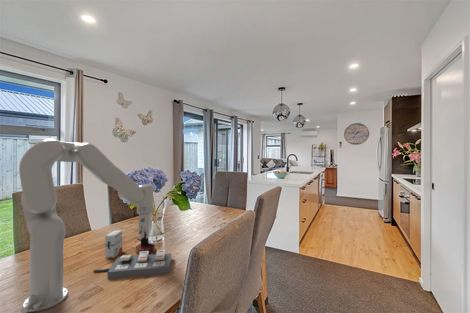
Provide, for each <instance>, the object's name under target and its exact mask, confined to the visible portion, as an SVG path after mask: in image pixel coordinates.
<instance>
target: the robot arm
mask: <svg viewBox="0 0 470 313" xmlns="http://www.w3.org/2000/svg"><path fill="white" fill-rule="evenodd" d="M56 162H62V163H65V162H66V163H79V164H81V165H82V166H83V167H84V168H86V169H87V170H88V171H89V172H90V173H91V174H92V175H93V176H95V178H96V179H98V181H100V182H102V183H103V184H104V185H107V186H109V187H111V188H113V189H114V190H115V191H117V195H118V197H119V199H120V200H121V201H124V202H126V203H129V204H132V205H135V204H136V214H138V226H137V227H138V235H140V239H141V241H140V244H141V247H146V246H148V243H149V234H150V233H151V231H152V228H153V219H152V218H153V217H152V216H153V215H152V213H153V212H154V186H153V185H152V184H149V183H148V184H147V183H146V184H139V185H138V183H137V182H135V180H133V179H132V178H131V177H130V176H128V174H126V173H124V172H123V170H121V169H120V168H119V167H117V166H116V165H115V164H114V163H113V161H111V160H110V159H109V158H108V156H106V155H105V154H104V153H103V152H102V151H101V150H100V149H99V148H98V147H97V146H95V145H94V144H93V143H90V142H69V141H68V142H67V141H61V140H58V139H55V138H45V139H41V140H39V141H37V142H35V143H34V144H33V145H32V146H31V147H30V148H29V149H28V150H27V151H26V152H25V153H24V154H23V155H22V157H21V159H20V162H19V170H18V171H19V177H20V178H19V179H20V186H21V189H22V194H21V197H20V200H21V202H20V203H21V207H22V212H23V216H24V220H25V223H26V228H27V230H28V233H29V239H30V241H29V242H30V243H29V262H28V263H29V271H28V272H29V278H28V279H29V280H28V281H29V282H28V284H29V285H28V287H29V288H28V297H27V299H25V300H24V302H23V303H22V308H21V310H20V312H21V313H28V312H29V313H35V311H36V312H40V311H44V310H48V309H50V308H52V307H54V306H57V305H59V304H60V303H61V302H63V301H64V300H65V299H66V298H67V297H68V293H69V290H68V288H66V287H64V245H65V236H66V226H65V222H64V220H63V219H62V218H61V217H60V216H59V214H58V211H57V206H56V205H57V203H58V194H57V192H56V187H55V184H54V179H53V177H54V176H53V172H52V171H53V167H54V164H55V163H56Z"/></svg>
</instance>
